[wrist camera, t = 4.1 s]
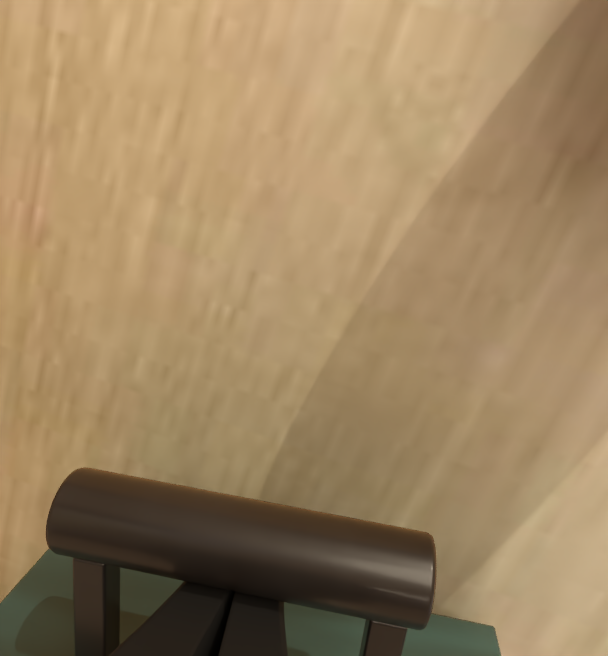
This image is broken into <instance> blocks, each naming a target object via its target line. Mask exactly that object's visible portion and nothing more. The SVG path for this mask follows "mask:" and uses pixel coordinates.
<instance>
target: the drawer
mask: <svg viewBox="0 0 608 656" xmlns="http://www.w3.org/2000/svg"><path fill="white" fill-rule="evenodd" d="M46 541H47V545H48V547H49V549H48V550H47V551H46V552H45V553H44V555H43V556H42V557H41V558H40V559H39V560H38V561H37V562H36V564H35V565H34V566H33V567H32V568H31V569H30V570H29V571H28V573H27V574H26V575H25V576H24V577H23V578H22V579H21V580H20V582H19V583H18V584H17V585H16V586H15V587H14V588H13V589H12V591H11V592H10V593H9V594H8V595H7V596H6V597H5V598H4V600H3V601H2V602H1V603H0V656H108V655H109V654H110V653H112V652H113V651H114V650H115V649H116V648H117V647H118V646H119V645H120V644H121V643H122V642H123V641H125V640H126V639H127V638H128V637H129V636H130V635H131V634H132V633H133V632H134V631H135V630H136V629H138V628H139V627H140V626H141V625H142V624H143V623H144V622H145V621H146V620H147V619H148V618H149V617H150V616H151V615H152V614H153V613H154V612H155V611H156V610H157V609H158V608H159V607H160V606H161V605H162V604H163V603H164V602H165V601H166V600H167V599H168V598H169V597H170V596H171V595H172V594H173V593H174V592H175V591H176V590H177V589H178V587H179V586H180V585H181V584H182V583H183V582H184V581H186V582H191V583H196V584H201V585H205V586H210V587H215V588H220V589H224V590H229V591H234V592H239V593H243V594H248V595H253V596H258V597H262V598H267V599H272V600H277V601H281V602H284V618H285V631H286V642H287V653H288V656H501V652H500V648H499V644H498V640H497V636H496V632H495V628H494V627H493V626H490V625H485V624H480V623H475V622H471V621H466V620H461V619H456V618H451V617H446V616H442V615H437V614H432V613H431V612H432V607H433V602H434V595H435V585H436V549H435V544H434V540H433V537H432V535H430V534H429V533H427V532H422V531H417V530H411V529H406V528H401V527H396V526H390V525H385V524H380V523H375V522H370V521H364V520H359V519H354V518H349V517H343V516H338V515H333V514H328V513H322V512H317V511H312V510H307V509H301V508H296V507H291V506H286V505H280V504H275V503H270V502H265V501H259V500H254V499H249V498H244V497H239V496H233V495H228V494H223V493H218V492H212V491H207V490H202V489H197V488H191V487H186V486H181V485H176V484H170V483H165V482H160V481H155V480H149V479H144V478H139V477H134V476H128V475H123V474H118V473H113V472H107V471H102V470H97V469H92V468H80V469H77V470H75V471H73V472H72V473H71V474H70V475H69V476H68V477H67V478H66V479H65V481H64V482H63V483H62V485H61V486H60V488H59V490H58V491H57V493H56V496H55V498H54V500H53V502H52V505H51V508H50V511H49V515H48V519H47V525H46Z"/></svg>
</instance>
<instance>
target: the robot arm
mask: <svg viewBox="0 0 608 656" xmlns="http://www.w3.org/2000/svg"><path fill="white" fill-rule="evenodd" d="M108 656H288V653H287V642H286V631H285V618H284V602H281V601H277V600H272V599H267V598H262V597H258V596H253V595H248V594H243V593H239V592H234V591H229V590H224V589H220V588H215V587H210V586H205V585H201V584H196V583H191V582H186V581H184V582H183V583H182V584H181V585H180V586H179V587H178V589H177V590H176V591H175V592H174V593H173V594H172V595H171V596H170V597H169V598H168V599H167V600H166V601H165V602H164V603H163V604H162V605H161V606H160V607H159V608H158V609H157V610H156V611H155V612H154V613H153V614H152V615H151V616H150V617H149V618H148V619H147V620H146V621H145V622H144V623H143V624H142V625H141V626H140V627H139V628H138V629H136V630H135V631H134V632H133V633H132V634H131V635H130V636H129V637H128V638H127V639H126V640H125V641H123V642H122V643H121V644H120V645H119V646H118V647H117V648H116V649H115V650H114V651H113V652H112V653H110V654H109V655H108Z"/></svg>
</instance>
